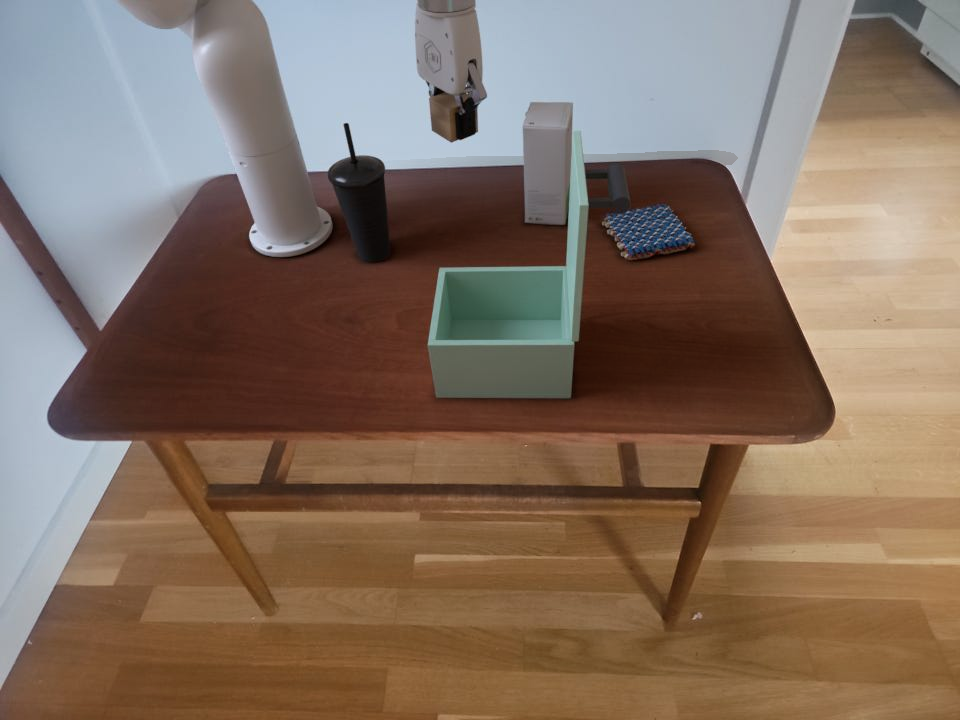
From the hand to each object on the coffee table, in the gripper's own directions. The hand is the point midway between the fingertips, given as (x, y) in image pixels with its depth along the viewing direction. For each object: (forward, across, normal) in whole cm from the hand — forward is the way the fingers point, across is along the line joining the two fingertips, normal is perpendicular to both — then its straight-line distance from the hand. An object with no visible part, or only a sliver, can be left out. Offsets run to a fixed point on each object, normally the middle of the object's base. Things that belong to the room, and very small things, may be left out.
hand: (454, 128), depth 96 cm
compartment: (+12, +32, -17) cm, 38 cm away
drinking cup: (+12, +3, -18) cm, 22 cm away
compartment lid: (-6, +37, -12) cm, 39 cm away
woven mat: (+11, +27, +14) cm, 33 cm away
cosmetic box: (+12, +12, +8) cm, 19 cm away
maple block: (+1, 0, 0) cm, 1 cm away
